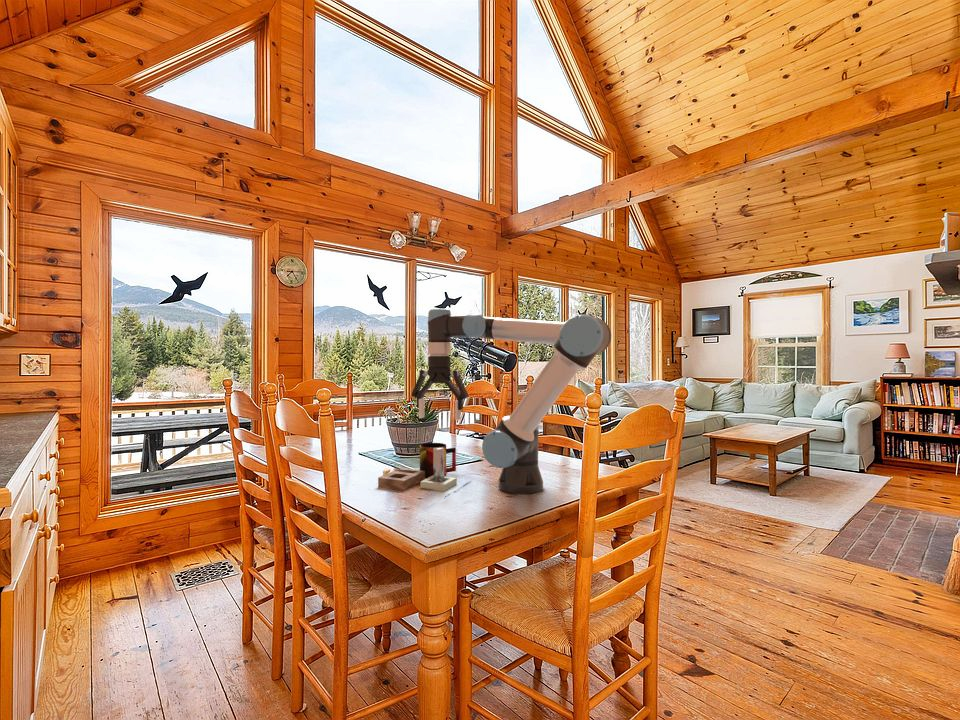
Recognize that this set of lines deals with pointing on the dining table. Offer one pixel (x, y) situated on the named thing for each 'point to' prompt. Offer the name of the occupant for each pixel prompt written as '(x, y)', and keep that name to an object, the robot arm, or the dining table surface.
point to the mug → (427, 458)
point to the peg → (438, 464)
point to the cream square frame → (438, 483)
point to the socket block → (401, 479)
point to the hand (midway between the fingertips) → (439, 418)
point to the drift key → (386, 471)
